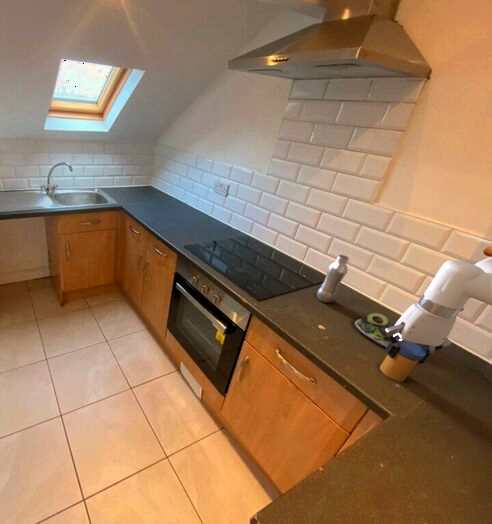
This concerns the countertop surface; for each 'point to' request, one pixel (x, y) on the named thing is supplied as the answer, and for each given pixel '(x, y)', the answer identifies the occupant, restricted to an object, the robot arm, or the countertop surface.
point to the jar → (397, 367)
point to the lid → (411, 350)
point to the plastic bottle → (333, 279)
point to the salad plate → (374, 328)
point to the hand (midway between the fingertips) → (403, 356)
